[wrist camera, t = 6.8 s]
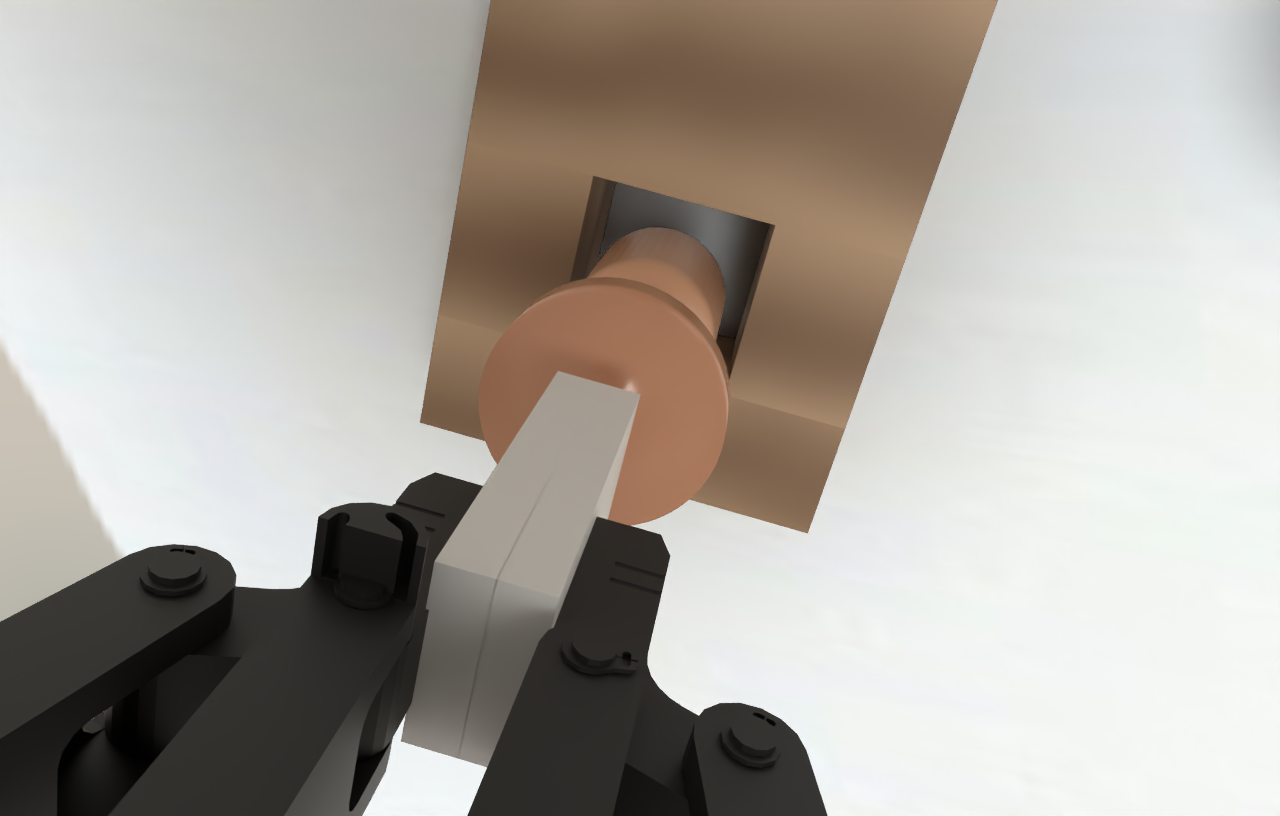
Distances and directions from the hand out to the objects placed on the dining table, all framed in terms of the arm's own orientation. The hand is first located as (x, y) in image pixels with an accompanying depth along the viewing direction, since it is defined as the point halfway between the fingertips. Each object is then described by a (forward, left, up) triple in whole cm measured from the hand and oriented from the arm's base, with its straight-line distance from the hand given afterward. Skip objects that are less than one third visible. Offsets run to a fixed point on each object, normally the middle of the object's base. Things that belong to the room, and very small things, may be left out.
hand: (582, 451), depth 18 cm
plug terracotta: (0, 0, -10) cm, 10 cm away
